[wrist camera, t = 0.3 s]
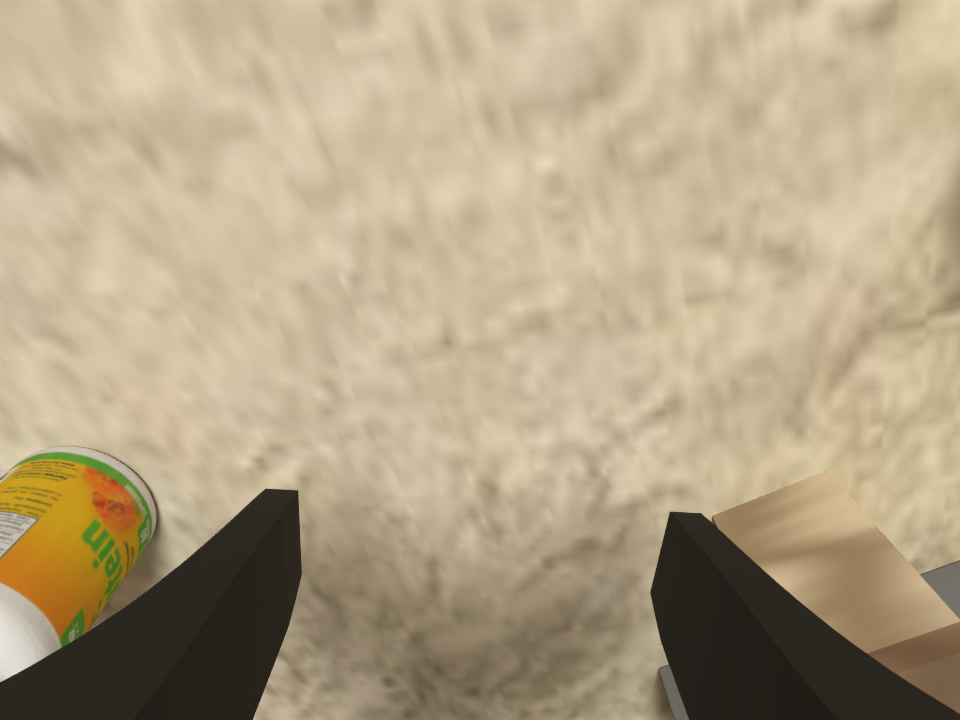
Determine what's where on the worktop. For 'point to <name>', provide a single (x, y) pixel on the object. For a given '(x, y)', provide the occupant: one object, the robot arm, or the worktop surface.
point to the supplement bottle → (64, 547)
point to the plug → (852, 580)
